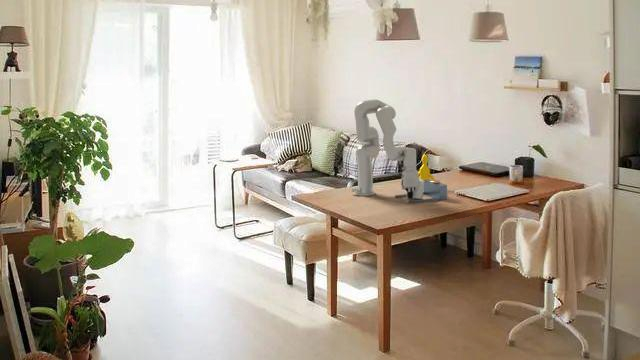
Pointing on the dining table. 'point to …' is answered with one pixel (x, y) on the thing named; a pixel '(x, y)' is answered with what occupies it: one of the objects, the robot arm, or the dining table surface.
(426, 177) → the figure statuette
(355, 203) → the dining table surface
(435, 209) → the dining table surface
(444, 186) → the motor mount
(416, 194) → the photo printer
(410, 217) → the dining table surface
